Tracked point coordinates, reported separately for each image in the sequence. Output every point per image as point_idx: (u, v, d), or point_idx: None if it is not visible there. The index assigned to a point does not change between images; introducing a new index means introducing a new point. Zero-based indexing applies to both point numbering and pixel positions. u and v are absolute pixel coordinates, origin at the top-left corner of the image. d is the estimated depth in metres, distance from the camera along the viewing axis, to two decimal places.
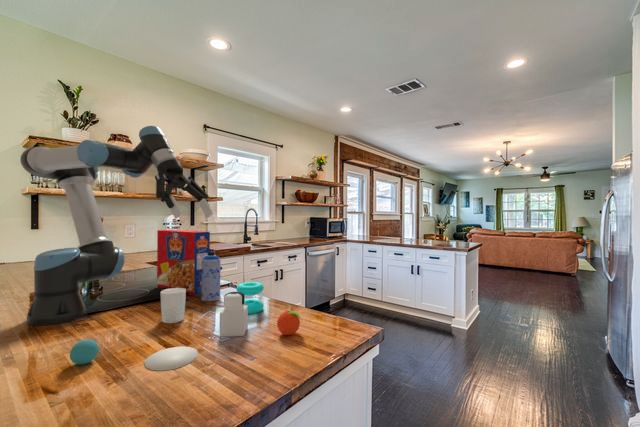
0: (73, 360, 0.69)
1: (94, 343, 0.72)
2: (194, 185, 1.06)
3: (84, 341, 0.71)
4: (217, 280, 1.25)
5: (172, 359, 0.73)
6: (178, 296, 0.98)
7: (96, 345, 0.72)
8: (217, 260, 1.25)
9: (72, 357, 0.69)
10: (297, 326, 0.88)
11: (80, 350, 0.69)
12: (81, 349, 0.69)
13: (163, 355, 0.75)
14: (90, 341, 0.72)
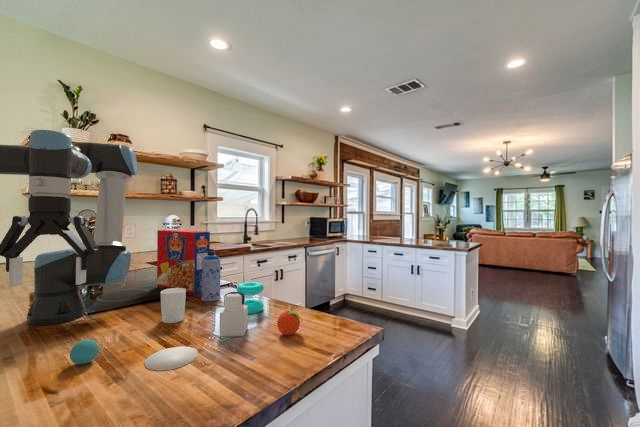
0: (73, 360, 0.69)
1: (94, 343, 0.72)
2: None
3: (84, 341, 0.71)
4: (217, 280, 1.25)
5: (172, 359, 0.73)
6: (178, 296, 0.98)
7: (96, 345, 0.72)
8: (217, 260, 1.25)
9: (72, 357, 0.69)
10: (297, 326, 0.88)
11: (80, 350, 0.69)
12: (81, 349, 0.69)
13: (163, 355, 0.75)
14: (90, 341, 0.72)
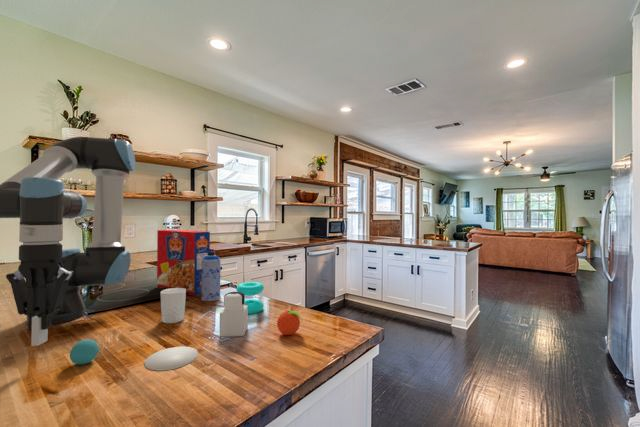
0: (73, 360, 0.69)
1: (94, 343, 0.72)
2: None
3: (84, 341, 0.71)
4: (217, 280, 1.25)
5: (172, 359, 0.73)
6: (178, 296, 0.98)
7: (96, 345, 0.72)
8: (217, 260, 1.25)
9: (72, 357, 0.69)
10: (297, 326, 0.88)
11: (80, 350, 0.69)
12: (81, 349, 0.69)
13: (163, 355, 0.75)
14: (90, 341, 0.72)
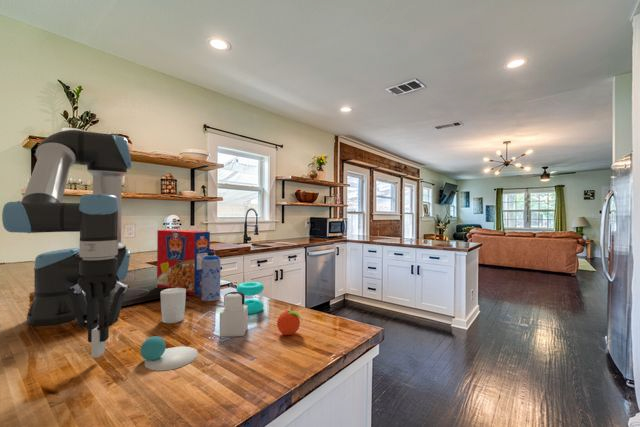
0: (150, 358, 0.71)
1: (153, 337, 0.74)
2: None
3: (144, 342, 0.73)
4: (217, 280, 1.25)
5: (172, 359, 0.73)
6: (178, 296, 0.98)
7: (156, 336, 0.74)
8: (217, 260, 1.25)
9: (146, 357, 0.71)
10: (297, 326, 0.88)
11: (146, 347, 0.71)
12: (146, 347, 0.71)
13: (163, 355, 0.75)
14: (148, 338, 0.73)
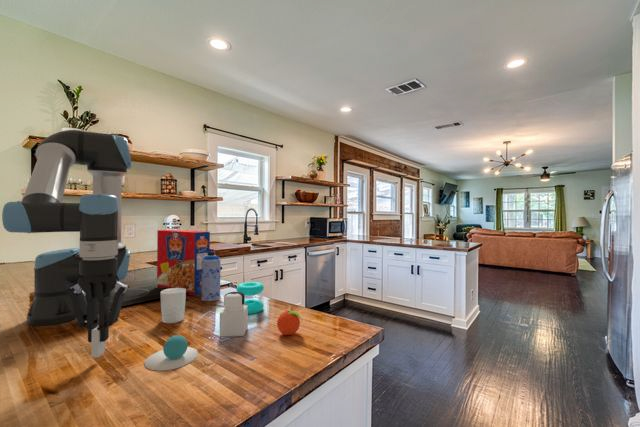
0: (166, 350, 0.72)
1: (186, 349, 0.75)
2: None
3: (184, 342, 0.74)
4: (217, 280, 1.25)
5: (172, 359, 0.73)
6: (178, 296, 0.98)
7: (185, 351, 0.75)
8: (217, 260, 1.25)
9: (168, 348, 0.72)
10: (297, 326, 0.88)
11: (178, 349, 0.72)
12: (178, 350, 0.72)
13: (163, 355, 0.75)
14: (186, 345, 0.75)
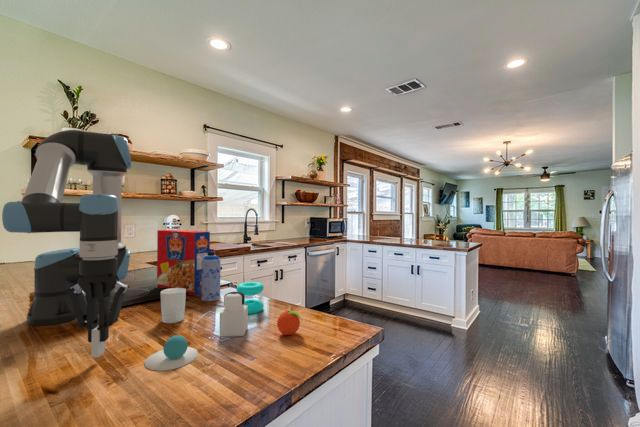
0: (166, 350, 0.72)
1: (186, 349, 0.75)
2: None
3: (184, 342, 0.74)
4: (217, 280, 1.25)
5: (172, 359, 0.73)
6: (178, 296, 0.98)
7: (185, 351, 0.75)
8: (217, 260, 1.25)
9: (168, 348, 0.72)
10: (297, 326, 0.88)
11: (178, 350, 0.72)
12: (179, 350, 0.72)
13: (163, 355, 0.75)
14: (187, 345, 0.75)
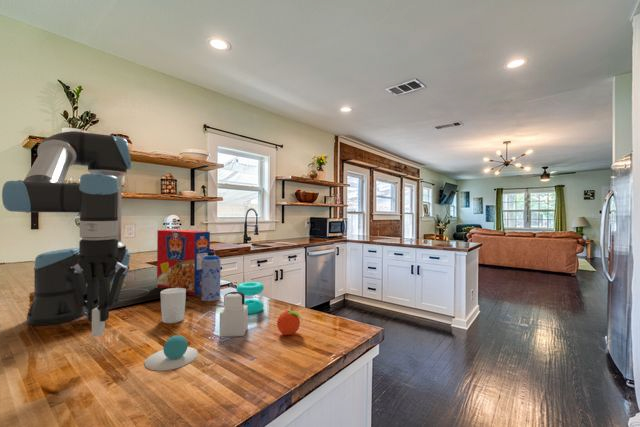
0: (166, 350, 0.72)
1: (186, 349, 0.75)
2: None
3: (184, 342, 0.74)
4: (217, 280, 1.25)
5: (172, 359, 0.73)
6: (178, 296, 0.98)
7: (185, 351, 0.75)
8: (217, 260, 1.25)
9: (168, 348, 0.72)
10: (297, 326, 0.88)
11: (178, 350, 0.72)
12: (179, 350, 0.72)
13: (163, 355, 0.75)
14: (187, 345, 0.75)
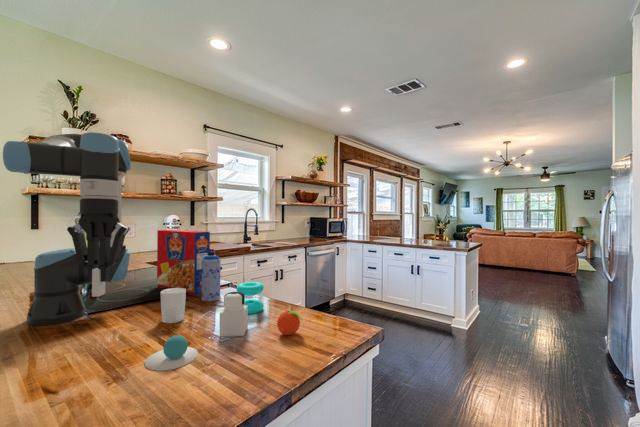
0: (166, 350, 0.72)
1: (186, 349, 0.75)
2: None
3: (184, 342, 0.74)
4: (217, 280, 1.25)
5: (172, 359, 0.73)
6: (178, 296, 0.98)
7: (185, 351, 0.75)
8: (217, 260, 1.25)
9: (168, 348, 0.72)
10: (297, 326, 0.88)
11: (178, 350, 0.72)
12: (179, 350, 0.72)
13: (163, 355, 0.75)
14: (187, 345, 0.75)
